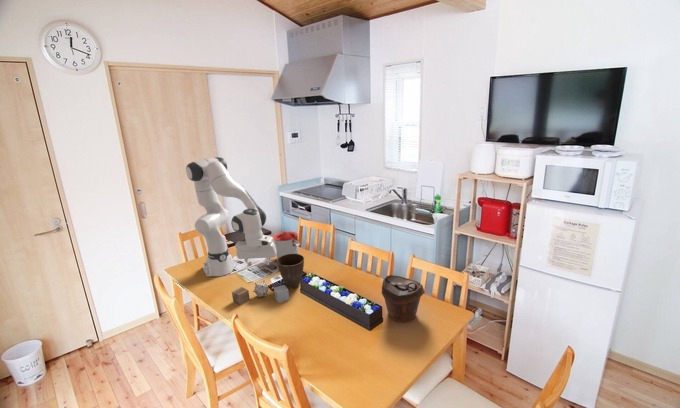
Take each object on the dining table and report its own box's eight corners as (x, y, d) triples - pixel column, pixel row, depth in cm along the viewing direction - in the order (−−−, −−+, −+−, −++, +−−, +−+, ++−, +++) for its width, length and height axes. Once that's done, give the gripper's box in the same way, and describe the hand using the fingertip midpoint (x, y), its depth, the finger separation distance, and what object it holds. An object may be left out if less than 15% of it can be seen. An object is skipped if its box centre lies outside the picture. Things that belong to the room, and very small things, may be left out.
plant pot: (311, 282, 189) (309, 257, 185) (293, 295, 178) (290, 268, 173) (292, 276, 198) (290, 251, 193) (274, 287, 186) (271, 261, 182)
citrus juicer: (293, 267, 209) (290, 237, 203) (271, 262, 216) (267, 234, 211) (306, 256, 222) (304, 228, 217) (284, 253, 230) (282, 226, 224)
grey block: (274, 297, 176) (273, 287, 175) (285, 294, 179) (284, 284, 177) (278, 303, 171) (277, 292, 170) (289, 299, 174) (288, 289, 172)
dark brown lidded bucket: (430, 322, 150) (431, 287, 145) (388, 329, 147) (387, 293, 142) (415, 301, 167) (415, 269, 162) (377, 307, 164) (376, 274, 159)
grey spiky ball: (259, 303, 179) (246, 290, 176) (268, 290, 184) (255, 278, 182) (267, 300, 172) (253, 288, 170) (276, 288, 178) (263, 275, 176)
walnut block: (233, 302, 174) (231, 291, 173) (242, 296, 179) (241, 286, 177) (240, 305, 171) (238, 295, 169) (249, 300, 175) (248, 290, 174)
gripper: (232, 243, 167) (236, 268, 171) (272, 242, 166) (276, 267, 169) (236, 239, 173) (240, 263, 177) (275, 237, 172) (278, 261, 175)
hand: (258, 265), depth 173 cm, fingers open, 8 cm apart
